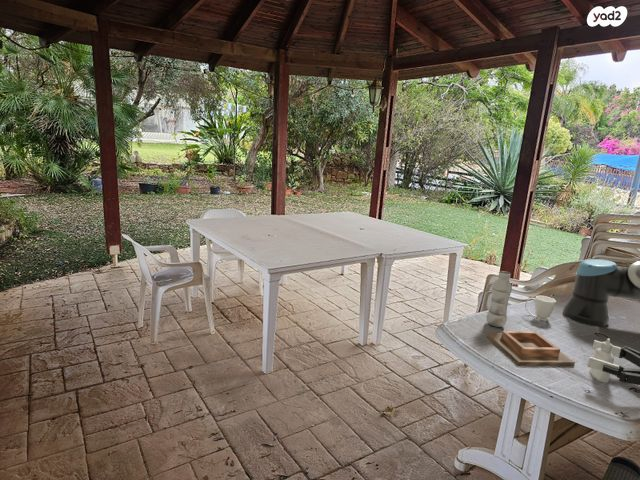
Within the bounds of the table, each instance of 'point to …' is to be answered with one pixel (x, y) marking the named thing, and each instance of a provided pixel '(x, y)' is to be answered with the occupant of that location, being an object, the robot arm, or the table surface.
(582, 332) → the table surface
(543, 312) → the cup
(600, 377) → the eye dropper bottle
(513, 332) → the collar board
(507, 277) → the plastic bottle
